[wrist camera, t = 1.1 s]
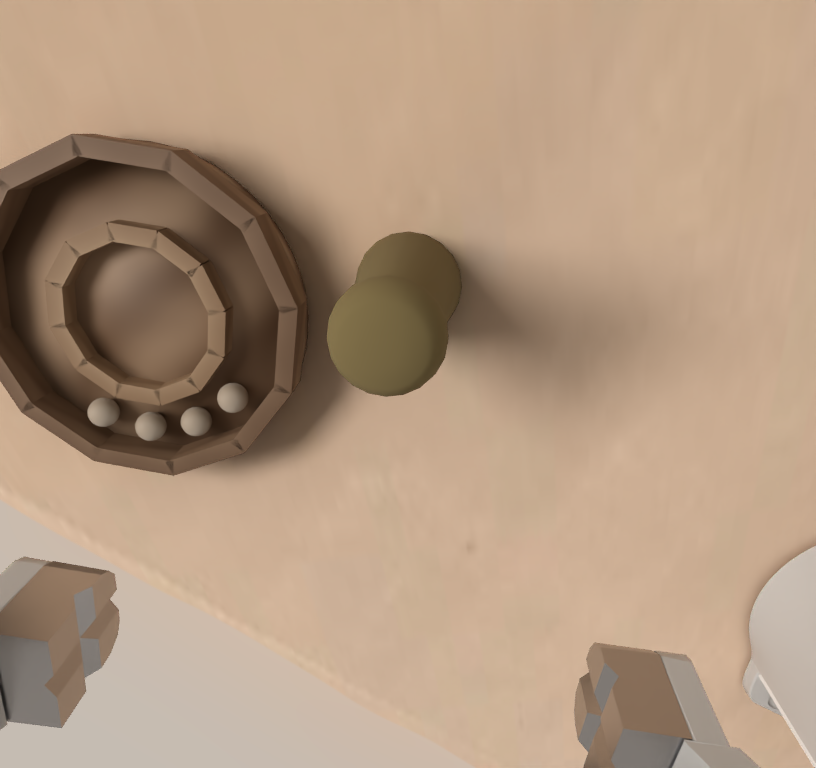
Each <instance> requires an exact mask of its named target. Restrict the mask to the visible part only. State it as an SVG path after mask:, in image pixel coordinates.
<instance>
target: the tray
mask: <svg viewBox="0 0 816 768" xmlns="http://www.w3.org/2000/svg"><path fill="white" fill-rule="evenodd" d="M307 338H308V309H307V298H306V294H305V290H304V286H303V282H302V278H301V274H300V271H299V269H298V266H297V263H296V261H295V258H294V256H293V253H292V251H291V249H290V247H289V246H288V244H287V242H286V240H285V238H284V236H283V234H282V233H281V231H280V230H279V228H278V227H277V225H276V224H275V222H274V221H273V220H272V218H271V217H270V215H269V214H268V213H267V211H266V210H265V209H264V208H263V207H262V206H261V205H260V204H259V202H258V201H257V200H256V199H255V198H254V197H253V196H252V195H251V194H250V193H249V192H248V191H247V190H246V189H245V188H243V187H242V186H241V185H240V184H239V183H238V182H237V181H236V180H234V179H233V178H232V177H230V176H229V175H227V174H226V173H224V172H223V171H222V170H220V169H219V168H217V167H216V166H214V165H212V164H210V163H209V162H207V161H205V160H203V159H201V158H199V157H197V156H196V155H194V154H193V153H192V152H191V151H189V150H188V149H182V148H176V147H172V146H168V145H163V144H159V143H155V142H151V141H140V140H129V139H122V138H116V137H109V136H103V135H97V134H71V135H69V136H67V137H65V138H63V139H61V140H59V141H56V142H54V143H52V144H50V145H48V146H46V147H44V148H42V149H40V150H38V151H36V152H34V153H32V154H30V155H28V156H26V157H24V158H22V159H20V160H18V161H16V162H14V163H12V164H10V165H8V166H6V167H4V168H2V169H0V381H1V383H2V384H3V386H4V387H5V388H6V390H7V391H8V393H9V394H10V396H11V397H12V399H13V400H14V402H15V403H16V405H17V406H18V408H19V409H20V411H21V412H22V413H23V414H25V415H26V416H28V417H29V418H31V419H32V420H34V421H35V422H37V423H38V424H40V425H41V426H43V427H44V428H46V429H47V430H49V431H50V432H52V433H53V434H55V435H56V436H58V437H59V438H61V439H62V440H63V441H65V442H66V443H68V444H69V445H71V446H72V447H74V448H75V449H77V450H78V451H80V452H81V453H83V454H84V455H86V456H87V457H89V458H90V459H92V460H93V461H97V462H102V463H108V464H113V465H119V466H124V467H129V468H135V469H140V470H146V471H151V472H157V473H162V474H168V475H173V476H174V475H177V474H180V473H183V472H186V471H189V470H192V469H196V468H199V467H202V466H205V465H208V464H211V463H214V462H217V461H220V460H224V459H227V458H230V457H233V456H236V455H239V454H242V453H245V452H246V450H247V449H248V448H249V447H250V445H251V444H252V443H253V441H254V440H255V439H256V438H257V436H258V435H259V434H260V433H261V431H262V430H263V429H264V428H265V426H266V425H267V424H268V423H269V421H270V420H271V419H272V417H273V416H274V415H275V414H276V412H277V411H278V410H279V409H280V407H281V406H282V405H283V404H284V402H285V401H286V400H287V399H288V397H289V396H290V395H291V393H292V392H293V391H294V389H295V388H296V386H297V385H298V383H299V382H300V379H301V366H302V363H303V359H304V356H305V351H306V345H307Z"/></svg>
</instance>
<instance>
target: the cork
mask: <svg viewBox="0 0 816 768" xmlns="http://www.w3.org/2000/svg"><path fill="white" fill-rule="evenodd" d="M461 288H462V285H461V277H460V270H459V268H458V266H457V264H456V262H455V260H454V258H453V255H452V254H451V253H450V252H449V251H448V250H447V249H446V248H445V247H444V246H443V245H442V244H441V243H440V242H438V241H436V240H434V239H433V238H431V237H429V236H427V235H424V234H419V233H413V232H403V233H396V234H391V235H389V236H387V237H385V238H383V239H381V240H379V241H377V242H376V243H375V244H374V245H373V246H372V247H371V248H370V249H369V250H368V251H367V252H366V253H365V255H364V257H363V260H362V262H361V264H360V266H359V268H358V272H357V277H356V282H355V284H354V285H352V286H351V287H350V288H349V289H348V290H347V291H346V292H345V293H344V294H343V295H342V296H341V297H340V299H339V300H338V301H337V302H336V304H335V306H334V308H333V310H332V313H331V315H330V317H329V321H328V330H327V343H328V348H329V352H330V357H331V359H332V361H333V362H334V364H335V366H336V368H337V369H338V371H339V373H340V374H341V375H342V376H343V377H344V378H345V379H346V380H348V381H349V382H350V383H351V384H352V385H353V386H355V387H357V388H359V389H361V390H363V391H365V392H367V393H370V394H375V395H380V396H396V395H404V394H406V393H409V392H411V391H413V390H416V389H418V388H420V387H421V386H422V385H423V384H424V383H426V382H427V381H428V380H429V379H430V378H431V377H432V376H434V375H435V374H436V372H437V370H438V369H439V367H440V365H441V364H442V362H443V360H444V358H445V354H446V349H447V344H448V329H447V322H448V320H449V319H450V317H451V316H452V314H453V312H454V310H455V308H456V307H457V305H458V303H459V298H460V293H461Z"/></svg>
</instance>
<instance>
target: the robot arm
mask: <svg viewBox="0 0 816 768" xmlns="http://www.w3.org/2000/svg"><path fill="white" fill-rule="evenodd" d="M116 590H117V588H116V581H115V574H114V573H111V572H110V571H106V570H100V569H94V568H89V567H83V566H78V565H72V564H66V563H60V562H54V561H53V562H50V561H45V560H40V559H34V558H28V557H23V558H20V559H18V560H15V561H14V562H13V563H12V564H11V565H9V566H8V568H6V570H4V571H3V572H2V573H1V574H0V729H2V728H3V727H5V726H6V725H7V721H8V722H17V723H25V724H33V725H41V726H49V727H57V728H62V727H63V725H64V724H65V722H66V721H67V719H68V718H69V716H70V715H71V713H72V712H73V710H74V709H75V707H76V706H77V704H78V703H79V701H80V700H81V698H82V697H83V695H84V694H85V692H86V686H85V677H87V676H88V675H90V674H92V673H93V672H95V671H97V670H99V669H100V668H101V667H102V666H103V665H104V663H105V661H106V660H107V658H108V656H109V655H110V653H111V651H112V649H113V646H114V643H115V641H116V638H117V635H118V629H119V610H118V608H117V607H116V606H115V605H114V604H113V602H112V601H111V600H110V598H111V597H112V595H113V594H114V592H115V591H116ZM749 637H750V643H751V650H752V656H751V660H750V662H749V664H748V667H747V669H746V671H745V674H744V677H743V683H742V684H743V688H744V690H745V691H746V693H747V694H748V696H749V697H750V699H751V700H752V701H753V702H755V703H756V704H758V705H760V706H762V707H764V708H766V709H768V710H770V711H772V712H774V713H776V714H779V715H781V716H783V717H784V719H785V721H786V722H787V724H788V726H789V727H790V729H791V731H792V732H793V734H794V736H795V737H796V739H797V740H798V742H799V744H800V745H801V747H802V749H803V750H804V752H805V754H806V755H807V757H808V758H809V760H810V762H811V763H812V765H813V767H814V768H816V546H814V547H812V548H810V549H808V550H806V551H805V552H803V553H801V554H800V555H798V556H797V557H795V558H794V559H792V560H791V561H789V562H788V563H787V564H785V565H784V566H783V567H782V568H781V569H780V570H779V571H778V572H776V573H775V574H774V575H773V577H772V578H771V579H770V580H769V581H768V582H767V584H766V585H765V586H764V588H763V589H762V590H761V592H760V594H759V595H758V597H757V599H756V601H755V603H754V606H753V609H752V612H751V616H750V622H749ZM586 660H587V665H588V669H589V673H587V674H586V675H584V676H583V677H581V678H580V680H579V683H578V687H577V691H576V696H575V708H574V714H575V726H576V731H577V737H578V740H579V742H580V743H581V744H582V745H583V746H584V748H585V749H586V750H587V751H588V755H587V758H586V761H585V764H584V768H760V767H759V766H758V765H757V764H756V763H755V762H754V761H753V760H752V759H751V758H750V757H749V756H747V755H746V754H745V753H744V752H743V751H742V750H741V749H740V748H736V747H730V745H729V743H728V741H727V739H726V736H725V734H724V732H723V730H722V728H721V725H720V723H719V721H718V719H717V717H716V714H715V712H714V710H713V708H712V705H711V703H710V701H709V699H708V697H707V694H706V692H705V690H704V688H703V686H702V683H701V681H700V679H699V677H698V674H697V672H696V670H695V668H694V666H693V663H692V661H691V660H690V659H689V658H688V657H687V656H686V655H683V654H675V653H668V652H661V651H652V650H645V649H638V648H631V647H623V646H616V645H609V644H602V643H594V644H593V645H592V646H591V647H590V650H589V653H588V655H587V658H586Z"/></svg>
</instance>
